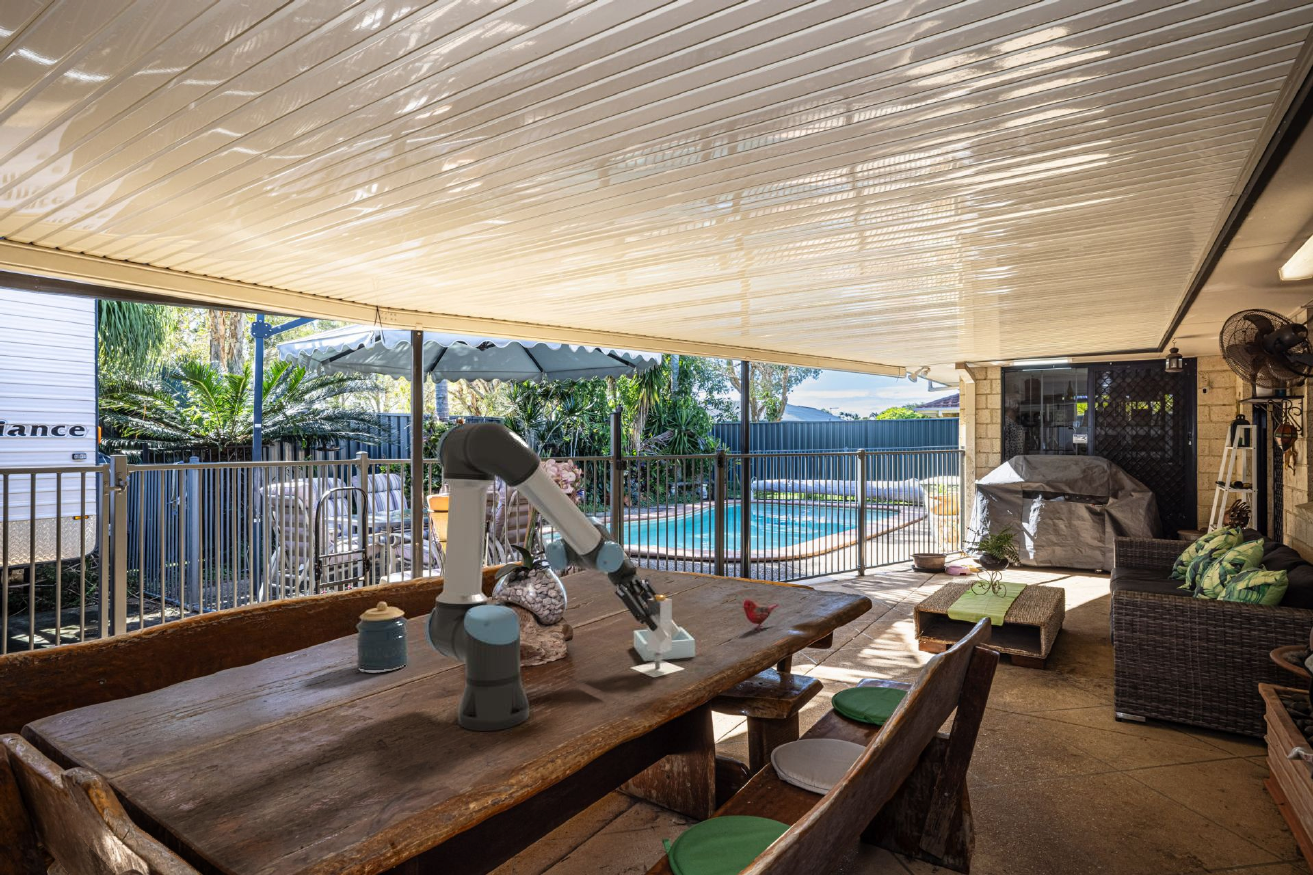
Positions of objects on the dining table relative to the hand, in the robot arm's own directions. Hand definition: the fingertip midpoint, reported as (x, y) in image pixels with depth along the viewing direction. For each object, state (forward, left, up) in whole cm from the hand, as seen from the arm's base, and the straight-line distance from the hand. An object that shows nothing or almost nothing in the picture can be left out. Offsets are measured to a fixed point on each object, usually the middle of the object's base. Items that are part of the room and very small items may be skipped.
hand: (670, 636), depth 185 cm
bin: (+2, +16, -10) cm, 19 cm away
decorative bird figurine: (+39, +38, -10) cm, 55 cm away
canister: (-73, +29, -10) cm, 79 cm away
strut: (-3, +2, -4) cm, 5 cm away
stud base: (-3, +2, -10) cm, 11 cm away
